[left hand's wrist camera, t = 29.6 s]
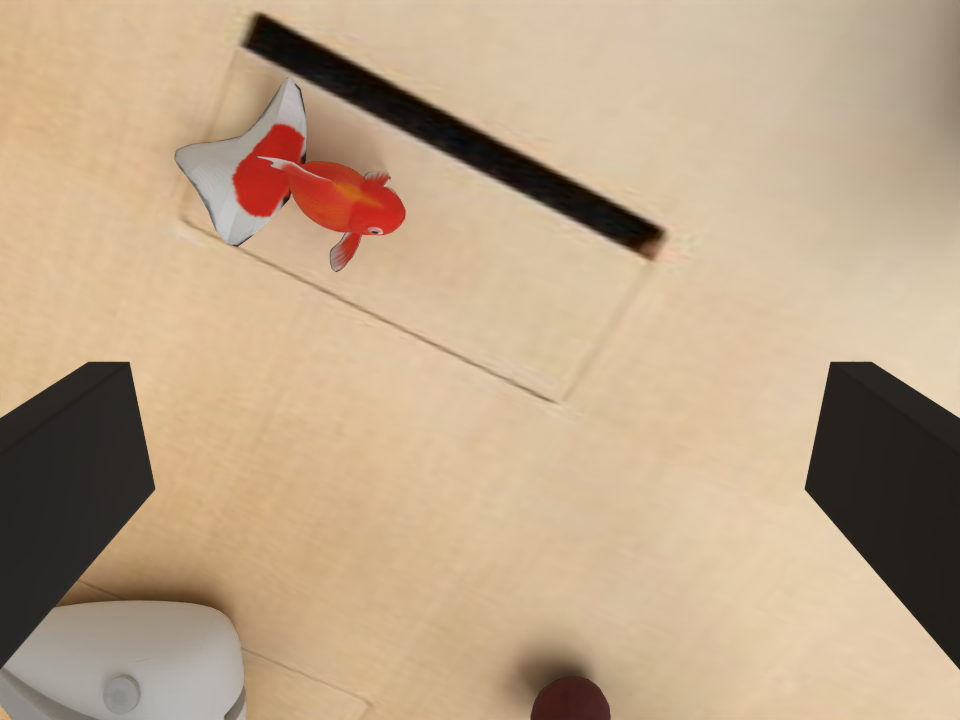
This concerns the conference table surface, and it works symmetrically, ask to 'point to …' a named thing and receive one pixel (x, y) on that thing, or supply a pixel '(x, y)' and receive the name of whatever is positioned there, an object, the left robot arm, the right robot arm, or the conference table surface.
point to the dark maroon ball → (571, 701)
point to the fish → (287, 181)
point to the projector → (127, 665)
